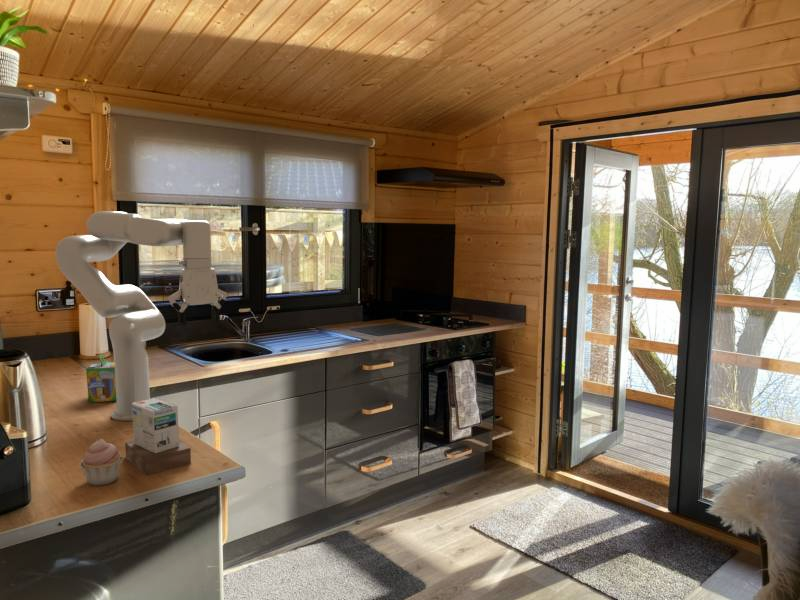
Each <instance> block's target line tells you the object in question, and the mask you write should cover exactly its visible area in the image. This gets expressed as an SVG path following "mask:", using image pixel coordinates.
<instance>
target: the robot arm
mask: <svg viewBox="0 0 800 600" xmlns="http://www.w3.org/2000/svg"><path fill="white" fill-rule="evenodd" d="M86 229H87V231H88V233H89V234H79V235H76V234H75V235H69V236H66V237H64V238H62V239H61V240H59V241H58V243H57V245H56V247H55V252H54V254H55V255H54V256H55V261H56V265H57V267H58V269H59V270H60V272H61V274H62V275H63V276H64V277H65V278H66V279H67V280H68V281H69V282H70V283H71V284H72V285H73V286H74V287H75V288H76V289H77V290H78V291H79V293H81V295H82V296H83V298H84V299H85V300H86V301H87V302H88V304H89V305H90V306H91V307H92V308H93V309H94V311H95V312H96V313H97V315H99V316H101V317H102V318H104V319H106V318H107V319H109V318H113V319H112V320H111V321H110V323H109V326H108V333H109V339H110V341H111V347H112V351H113V362H114V367H115V386H116V401H115V402H116V403H115V406H116V409H114V410H112V412H111V413H110V415H111V418H112V419H113V420H115V421H124V422H127V421H131V422H133V416H132V403H134V402H139V401H144V400H148V399H151V395H150V394H151V393H150V392H151V390H150V373H149V372H150V369H149V368H150V367H149V356H148V353H147V350H146V348H145V347H144V345H143V342H146V341H151V340H154V339H156V338H159V337H161V336H162V335H163V334H164V333H165V330H166V320H165V317H164V316H163V314H162V313H161V311H160V309H158V307H157V306H156V305H155V304H154V303H153V302H152V300H151V299H150V298H149V297H148V296H147V294H146V293H145V292H144V291H143V290H142V289H141V288H140V287H138V286H135V285H133V284H129V283H128V284H127V283H125V284H119V285H117V284H113V283H112V282H111V281H110V280H109V279H108V278H107V277H106V275H105V274H104V273H103V272H102V271H100V270H99V269H98V268H96V267H95V266H92V265H91V264H90V263H97V262H99V263H100V262H105V261H108V260H111V259H112V258H113V257H114V256H116V254H117V253H119V251H120V250H121V249H122V248H123V247H124V246H125V245H126V244H127V243H131V244H135V245H140V246H149V247H173V246H182V253H183V254H182V257H183V258H182V260H179V261H178V265H179V266H181V267H183V269H182V268H181V272H180V276H179V284H178V285H179V287H178V290H177V291H176V292H174V293H172V294H170V295H169V296H167V299H168V301H169V304H170V305H171V307H172V308H173V309H175V311H177V323H178V324H179V326H181V327H186V326H187V312H185V310H186V309H187V308H188V307H189V306H198V305H199V306H200V305H211V306H212V307H211V310H210V311H211V312H210V313H211V314H210V315H211V321H212V322H213V323H219V319H220V310H221V308H222V305H224V304H225V302H226V299H227V297H228V292H226V291H224V290H222V289H220V288H219V286H218V279H217V274H216V270H215V268H212V240H211V239H212V238H211V237H212V235H211V230H212V229H211V224H210V222H209V221H207V220H197V219H196V220H195V219H193V220H191V219H189V220H188V219H183V218H158V219H157V218H144V217H142V216H141V215H139V214H138V213H130V212H129V213H128V212H126V211H119V210H118V211H113V210H112V211H111V210H110V211H109V210H108V211H107V210H106V211H105V210H103V211H97V212H94V213H92V214H91V215H90V216H88V218H87V219H86ZM219 296H220V297H219ZM178 298H179V299H178ZM176 299H178V300H179V303H178V302H177V301H176Z"/></svg>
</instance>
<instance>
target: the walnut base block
mask: <svg viewBox="0 0 800 600" xmlns="http://www.w3.org/2000/svg"><path fill="white" fill-rule="evenodd" d="M124 445H125V459H127V460H128V461H129V462H131V463H132V464H133V465H134V466H135V467H136V468H137V469H139V471H141V472H142V473H143V474H144V473H145V474H144V475H145V476H148V474H149V475H151V474H156V473H159V471H160V472H163V471H168V470H171V469H175V468H178V467H182V466H186V465H191V464H192V461H191V458H192V456H191V454H192V453H191V447H190V446H188V445H187V444H186V443H184V442H182V441H180V440H179V447H175V448H172V449H169V450H166V451H162V452H159V453H153V452H151V451H149V450H147V449H145V448H143V447H140V446H138V445H136V444H134V440H130V441H127V442H125V444H124ZM155 472H156V473H155Z"/></svg>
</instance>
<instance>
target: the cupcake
mask: <svg viewBox="0 0 800 600" xmlns="http://www.w3.org/2000/svg"><path fill="white" fill-rule="evenodd" d="M124 459H125V457H124V456H121V453H120V450H119V449H117V447H116V445H114V444H112V443H109V442H106V441H105V440H104V439H102V438H100V439H98V440H96V441H95V442H94V443H92V444H91V445H90V446H89V448H88V450H87V451H86V452H85V453H84V456H83V459H82V460H81V462H80V463H79V464H78V465H79V466H80V468H81V470H82V471H83V472H84V476H85V478H86V481H87V484H88V485H91V486H95V487H97V486H106V485H108V484H112V483H114V482H115V481H117V480H118V476H119V472H120V468H121V465H122V463H123V461H124Z"/></svg>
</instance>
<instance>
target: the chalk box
mask: <svg viewBox="0 0 800 600" xmlns="http://www.w3.org/2000/svg"><path fill="white" fill-rule="evenodd" d="M98 360H99V362H92V363H91V364H90V365H89V366H87V368H86V369H85V370H86V371H85V372H86V384H87V395H88V396H87V397H88V399H87V400H88V401H87V402H88V403H89V402H90V403H89V404H91V402H93V403H103V402H116V386H115V367H114V361H106V360H105V357H104V354H103V353H101V354H100V355H99V356H98Z"/></svg>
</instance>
